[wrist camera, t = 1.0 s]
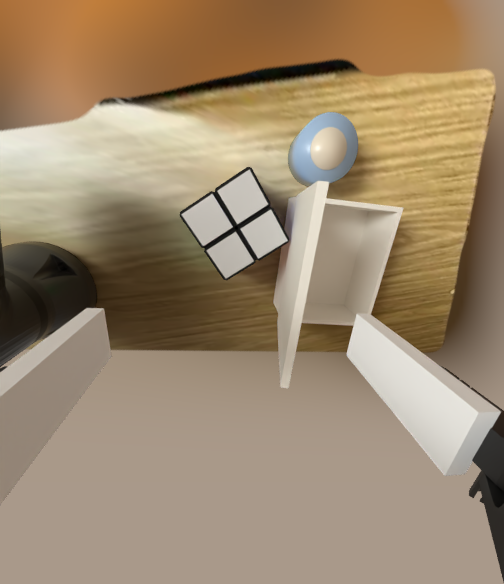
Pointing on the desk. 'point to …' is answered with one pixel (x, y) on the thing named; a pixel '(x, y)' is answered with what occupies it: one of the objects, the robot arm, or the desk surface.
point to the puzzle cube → (235, 224)
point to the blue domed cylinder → (323, 149)
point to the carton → (344, 260)
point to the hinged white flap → (298, 273)
